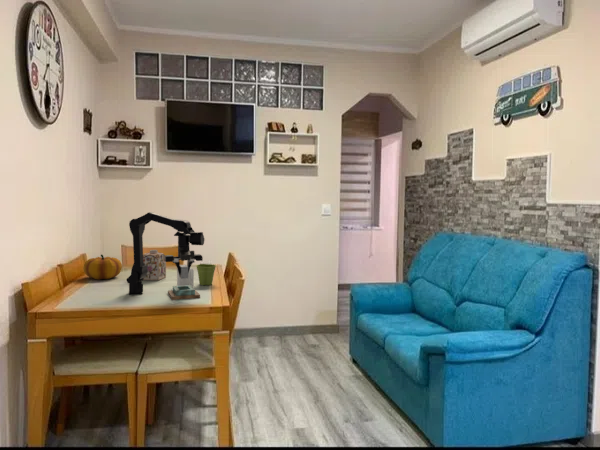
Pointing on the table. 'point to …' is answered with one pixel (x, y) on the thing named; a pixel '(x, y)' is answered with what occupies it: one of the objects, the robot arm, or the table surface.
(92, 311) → the table surface
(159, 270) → the decorative jar
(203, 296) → the table surface
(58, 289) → the table surface
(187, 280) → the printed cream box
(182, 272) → the silver metal block
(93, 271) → the decorative pumpkin
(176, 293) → the well board
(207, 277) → the plant pot
